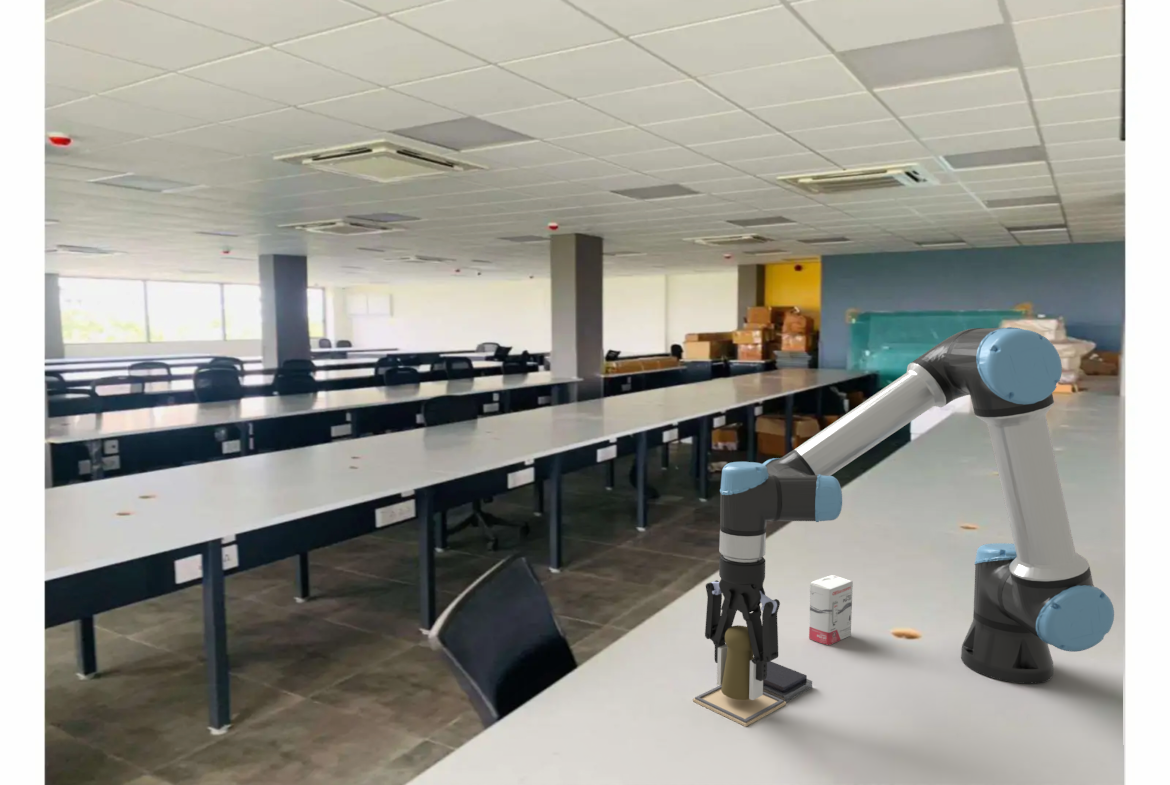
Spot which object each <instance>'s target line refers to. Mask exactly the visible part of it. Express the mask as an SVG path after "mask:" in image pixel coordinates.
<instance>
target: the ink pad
mask: <svg viewBox="0 0 1170 785" xmlns="http://www.w3.org/2000/svg"><path fill="white" fill-rule="evenodd" d="M812 688H813V680H810V679H809V678H807V674H805V673H801V672H799V671H796V670H795V669H792V668H788V667H786V666H784V665H781V664H779V663H776V662H774V661H770V662H767V677H766V679H764V680H763V692H766V693H768V694H770V695H773V696H775V697H777V698H780V699H782V700H784V702H786V703H787V702H788V701H790V700H792V699H794V698H795V697H798V696H799V695H801V694H804V693H805V692H807V691H809V690H810V689H812Z"/></svg>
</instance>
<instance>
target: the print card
mask: <svg viewBox="0 0 1170 785" xmlns="http://www.w3.org/2000/svg"><path fill="white" fill-rule="evenodd" d="M721 688H722V685H721V686H720V685H717V686H715V687H713V688H711V689H710V690H707V691H705V692H704V693H701V694H699V695H697V696H695V697H694V698H693V699H692V702H693V703H696V704H698V705H699V706H700V705H701V706H702V707H704V708H706V709H708V710H710V711H712V712H715V713H717V714H719V715H720V716H723V717H725V718H727V719H728V720H731V721H733V722H735V723H738V725H739V724H740V725H742V726H744V727H748V726H749V725H752V724H753V723H755V722H757V721H759V720H760V719H762V718H764V717H767V715H770V714H771V713H773V712H775V711H776V710H779V709H780V708H782V707H784V706H786V704H787V702H784V700H782V699H780V698H777V697H775V696H773V695H770V694H768V693H766V692H763V695H762V696H760V697H758V698H756V699H754V700H751V699H749V700H737V699H732V698H729V697H727V696H725V695H724V694H723V693H722V691H721Z"/></svg>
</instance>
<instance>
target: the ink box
mask: <svg viewBox="0 0 1170 785" xmlns="http://www.w3.org/2000/svg"><path fill="white" fill-rule="evenodd" d="M853 583H854V581H853V580H850V579H846V578H844V577H842V576H841V577H840V576H838V575H835V574H830V575H828V576H824V577H821V578H818V579H815V580H813V581H811V582H810V585H809V586H810V587H809V620H808V621H809V622H808V623H809V628H808V630H809V631H808V639H809V640H812V641H814V642H816V643H821V644H822V645H827V646H832V645H833V644H835V643H837V642H840V641H842V640H844V639H846V638H848V637H851V636H852V618H853V617H852V614H853V612H852V610H853V586H854V584H853Z"/></svg>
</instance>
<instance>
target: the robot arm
mask: <svg viewBox="0 0 1170 785" xmlns="http://www.w3.org/2000/svg"><path fill="white" fill-rule="evenodd" d="M1062 371H1063V367H1062V360H1061V356H1060V354H1059V352H1058V350H1057V348H1056V347H1055V346H1054V344H1053V343H1052V342H1051V341H1050V340H1049V339H1048V338H1046V337H1045V336H1043V335H1042V334H1040V333H1038V332H1036V331H1033V330H1028V329H1023V328H1020V327H1012V326H1011V327H1010V326H1009V327H994V328H993V327H992V328H991V327H990V328H984V327H982V328H981V327H977V328H975V327H974V328H968V329H964V330H962V331H958V332H957V333H955V334H953V335H951V336H949V337H947V338H945V339H944V340H943V341H941V342H940V343H937V344H936V345H935V346H933V347H932V348H930V349H929V350H927V351H926V352H925V353H923V354H922V355H920V356H919V357H917V358H916V359H915V360H913V361H911V362H910V363H909V364H907V368H906V373H904V374H903V375H901V376H900V377H898V378H897V379H895V380H894V381H892V382H890V384H888V385H887V386H885V387H883V388H882V389H881V390H879V391H877V392H876V393H875V394H873V395H872V396H869V398H868V399H866V400H864V401H863V402H862V403H860V404H859V405H858V406H856V407H855V408H853V409H851V410H850V411H849V412H847V413H846V414H843V416H841V417H840V418H838V419H837V420H835V421H834V422H833V423H831V424H829V425H828V426H826V427H825V428H824V429H822V430H820V431H819V432H818V433H816V434H815V435H814V436H812V437H810V438H809V439H807V440H806V441H804V442H803V443H802V444H800V445H799V446H798V447H796V448H795V449H793V450H791V451H789V452H788V453H786V454H785V455H783V456H782V457H780V458H779V457H778V458H777V457H776V458H774V457H773V458H769V459H767V460H766V461H764V462H763V463H760V462H754V461H750V462H749V461H733V462H732V461H731V462H729V463H726V464H724V466H723V468H722V470H721V478H720V489H719V493H720V504H719V505H720V510H719V511H720V515H719V516H720V517H719V519H720V524H719V526H720V528H719V547H718V548H719V550H718V551H719V553H720V556H719V559H718V561H719V564H718V576H719V577H720V580H718V579H717V580H714V581H711V582H708V583H706V584H705V590H706V595H707V601H706V602H707V603H706V613H705V614H706V616H705V629H704V630H705V631H704V637H705V638H706V640H711V641H712V643H713V645H714V662H715V663H716V664H717V667H716V668H717V670H716V671H717V672H716V685H717V686H721V685H722V681H723V675H724V669H725V662H726V656H727V649H728V646H727V645H726V642H725V633H726V631H727V629H728V628H730V627H732V626H733V624H734V620H735V617H736V614H737V611H738V612H740V613H741V614H742V619H743V620H744V621H745V624H746V627H747V628H748V633H749V637H750V642H751V646H752V651H753V657H754V659H752V660H750V681H749V699H751V700H754V699H756V698H758V697H760V696H762V695H763V680H764V679H766V677H767V662H770V661H771V662H773V661H774V660H776V659H777V658H779V632H778V630H779V629H778V628H779V626H778V612H779V609H780V605H781V603H780V600H779V599H776V598H775V599H772V598H771V597H769V596H767V595H766V591H765V589H764V583H765V579H766V559H765V555H766V546H767V545H766V542H767V541H766V540H767V522H815V523H819V522H829V521H835V520H836V519H838V518H839V516H840V514H841V511H842V508H843V493H842V492H843V491H842V487H841V484H840V482H839V480H838V478H836V477H835V476H832V475H834V474H835V473H836V472H838V471H839V470H841V469H842V468H844V467H845V466H847V465H849V464H850V463H851V462H853V461H854V460H856V459H857V458H859V457H860V456H862V455H863V454H865V453H867V452H868V451H869V450H871V449H872V448H874V447H875V446H877V445H878V444H880V443H881V442H882V441H885V439H887V438H888V437H890V436H891V435H893V434H894V433H896V432H898V431H899V430H900V429H902V428H904V426H906V425H908V424H909V423H911V422H912V421H914V420H915V419H917V418H918V417H920V416H921V415H923V414H924V413H925V412H928V411H929V410H930V409H932V408H933V407H936V408H937V407H938V408H943V407H945V406H946V405H948V404H949V403H950V402H952V401H955V400H956V399H959V398H962V397H965V396H970V400H971V404H972V405H971V406H972V409H973V413H974V416H975V417H976V418H978V419H979V420H980V421H982V422H984V423H985V424H986V426H987V429H988V434H989V438H990V444H991V447H992V452H993V456H994V461H995V465H996V470H997V473H998V474H997V475H998V479H999V483H1000V487H1001V492H1002V497H1003V500H1004V504H1005V510H1006V515H1007V519H1008V523H1009V527H1010V531H1011V537H1012V541H1013V543H1007V542H1005V543H1003V542H1001V543H1000V542H998V543H997V542H993V543H986V544H982V545H980V546H979V547H978V548H977V549H976V555H975V560H974V565H975V567H974V568H975V570H974V571H975V572H974V592H973V593H974V594H973V614H972V617H973V618H972V622H971V623H970V626H969V629H968V631H967V633H966V635H965V637H964V640H963V642H962V644H961V655H960V658H961V661H962V663H964V665H965V666H967V667H968V668H969V669H971V670H973V671H974V672H976V673H979V674H981V675H983V676H986V677H988V678H992V679H996V680H999V681H1005V682H1009V683H1010V682H1011V683H1014V684H1015V683H1017V684H1040V683H1045V682H1048V681H1049V680H1051V679H1052V678H1053V676H1054V661H1053V656H1052V655H1051V651H1050V648H1049V645H1051V646H1053V647H1054V648H1057V649H1059V650H1061V651H1065V652H1082V651H1086V650H1089V649H1091V648H1093V647H1095V646H1097V645H1098V644H1099V643H1101V642H1102V641H1103V640H1104V638H1105V635H1107V634H1109V632H1110V631H1111V629H1112V627H1113V624H1114V621H1115V620H1114V619H1115V608H1114V605H1113V602H1112V601H1111V599H1110V597H1109V596H1108V595H1107V594H1106V593H1105V592H1104V591H1103V590H1102V589H1100V588H1098V587H1097V586H1095V585H1094V582H1093V576H1092V572H1091V566H1090V563H1089V561H1088V560H1087V558H1086V557H1084V556H1082V555H1081V554H1079V553H1078V552H1076V549H1075V544H1074V540H1073V536H1072V532H1071V531H1072V530H1071V526H1070V520H1069V517H1068V512H1067V511H1068V510H1067V508H1066V502H1065V498H1064V494H1063V488H1062V484H1061V483H1062V482H1061V481H1060V476H1059V475H1060V474H1059V470H1058V466H1057V462H1056V456H1055V453H1054V452H1055V451H1054V447H1053V443H1052V437H1051V433H1050V430H1049V429H1050V428H1049V424H1048V419H1047V414H1048V412H1049V411H1050V410H1051V408H1052V407H1053V406H1055V400H1054V396H1053V393H1054V391H1056V389H1057V384H1058V383H1059V382H1060V381H1061V378H1062ZM723 598H724V599H723ZM722 599H723V601H722ZM760 605H761V606H760Z"/></svg>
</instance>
